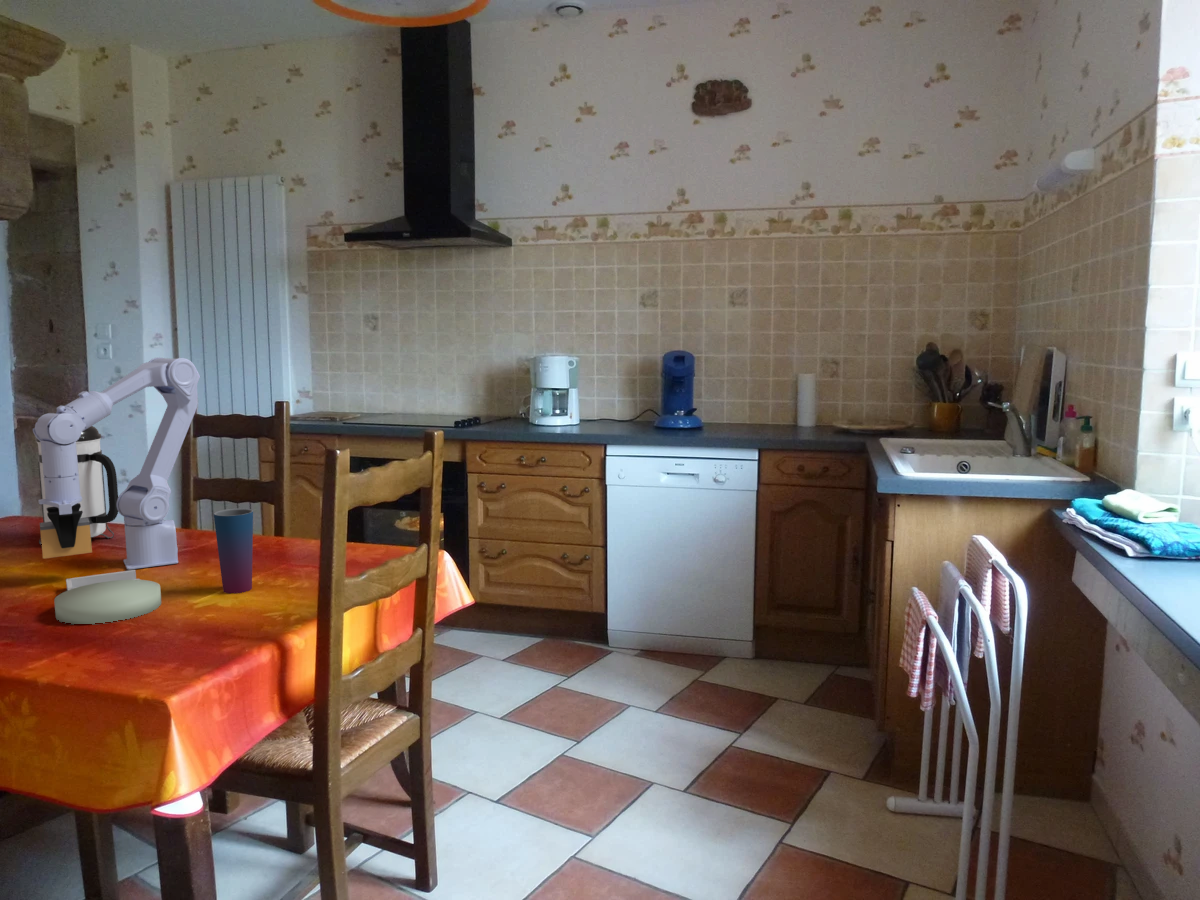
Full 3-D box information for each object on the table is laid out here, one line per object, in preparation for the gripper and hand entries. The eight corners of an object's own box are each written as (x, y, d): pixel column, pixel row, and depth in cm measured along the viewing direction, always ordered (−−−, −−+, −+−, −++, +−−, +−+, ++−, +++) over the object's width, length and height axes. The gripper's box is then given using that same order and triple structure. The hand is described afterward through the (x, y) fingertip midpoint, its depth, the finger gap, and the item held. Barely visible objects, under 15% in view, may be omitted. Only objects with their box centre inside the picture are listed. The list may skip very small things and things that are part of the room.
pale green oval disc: (148, 577, 166) (147, 563, 166) (167, 613, 145) (166, 596, 144) (52, 591, 157) (51, 575, 157) (57, 631, 136) (55, 613, 135)
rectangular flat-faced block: (90, 547, 167) (87, 517, 166) (92, 552, 163) (89, 521, 162) (42, 553, 162) (39, 522, 162) (43, 558, 159) (40, 527, 158)
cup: (219, 597, 154) (214, 517, 152) (217, 587, 160) (212, 510, 158) (258, 592, 157) (254, 513, 155) (255, 582, 163) (251, 507, 161)
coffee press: (31, 553, 185) (19, 417, 181) (46, 537, 199) (35, 411, 195) (121, 545, 191) (111, 415, 187) (129, 530, 206) (120, 409, 202)
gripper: (35, 472, 165) (41, 539, 166) (36, 483, 153) (43, 555, 155) (77, 469, 168) (83, 535, 170) (82, 479, 157) (88, 550, 158)
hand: (67, 544), depth 163 cm, fingers closed on rectangular flat-faced block, 4 cm apart
